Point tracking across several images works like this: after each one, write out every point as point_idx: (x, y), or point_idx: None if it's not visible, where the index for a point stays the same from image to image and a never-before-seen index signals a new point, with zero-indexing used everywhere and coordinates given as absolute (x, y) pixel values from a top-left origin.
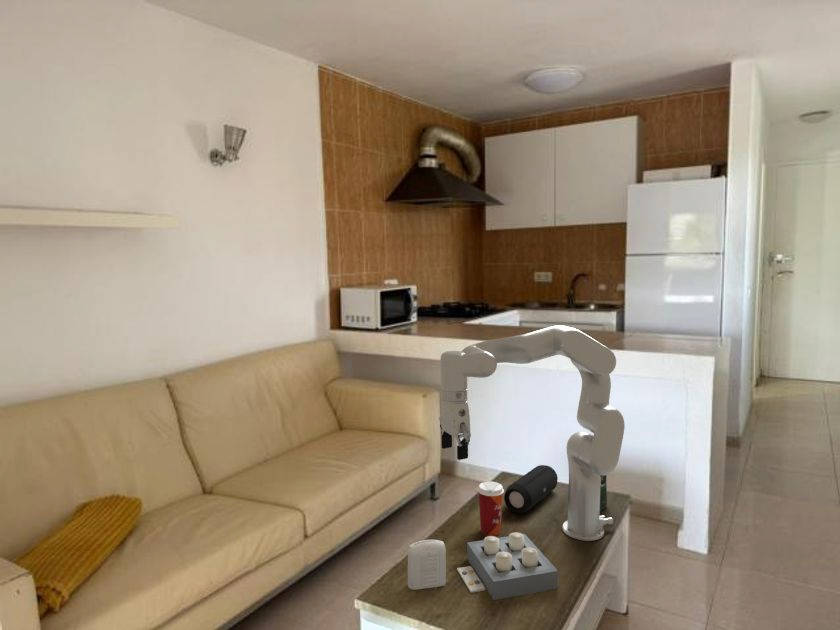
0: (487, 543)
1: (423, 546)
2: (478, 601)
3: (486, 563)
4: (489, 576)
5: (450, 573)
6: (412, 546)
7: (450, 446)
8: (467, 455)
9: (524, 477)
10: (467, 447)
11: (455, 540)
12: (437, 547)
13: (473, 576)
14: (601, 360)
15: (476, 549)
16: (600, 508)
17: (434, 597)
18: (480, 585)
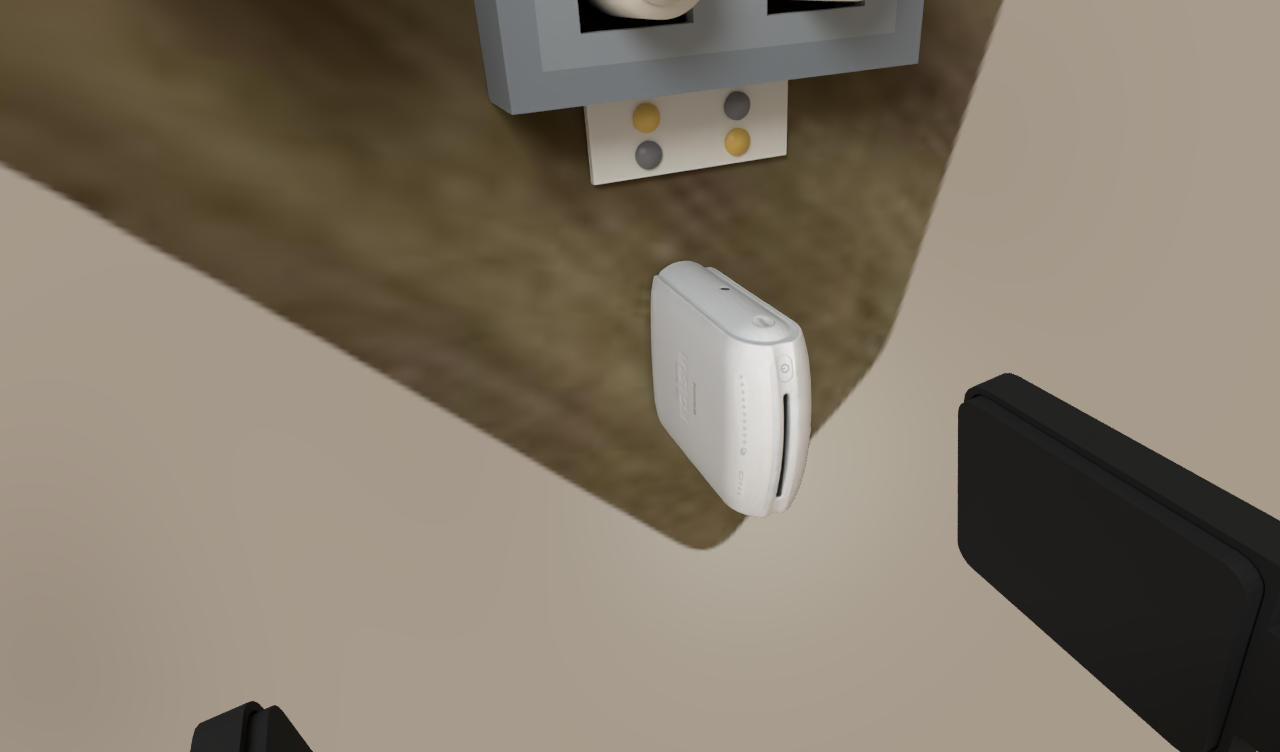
0: (691, 6)
1: (806, 454)
2: (843, 131)
3: (765, 50)
4: (865, 69)
5: (615, 223)
6: (786, 505)
7: (292, 742)
8: (1047, 404)
9: None
10: (1226, 508)
11: (236, 127)
12: (810, 378)
13: (684, 112)
14: None
15: (607, 70)
16: None
17: None
18: (761, 94)
